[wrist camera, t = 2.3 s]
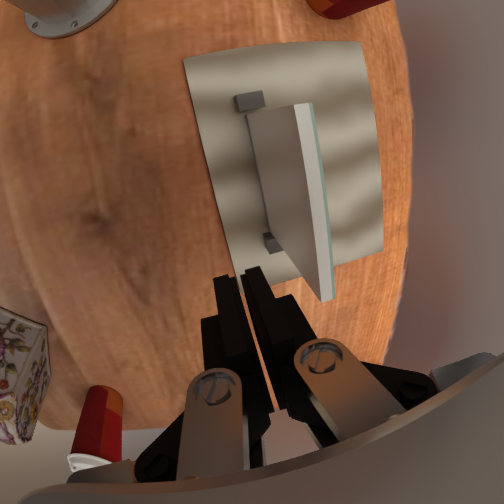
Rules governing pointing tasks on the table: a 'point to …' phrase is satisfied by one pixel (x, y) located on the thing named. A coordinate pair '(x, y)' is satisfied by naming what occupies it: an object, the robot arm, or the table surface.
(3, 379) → the decorative jar
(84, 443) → the coffee cup
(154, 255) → the table surface
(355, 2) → the paper cup
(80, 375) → the table surface
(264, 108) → the tile board
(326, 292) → the glazed tile
